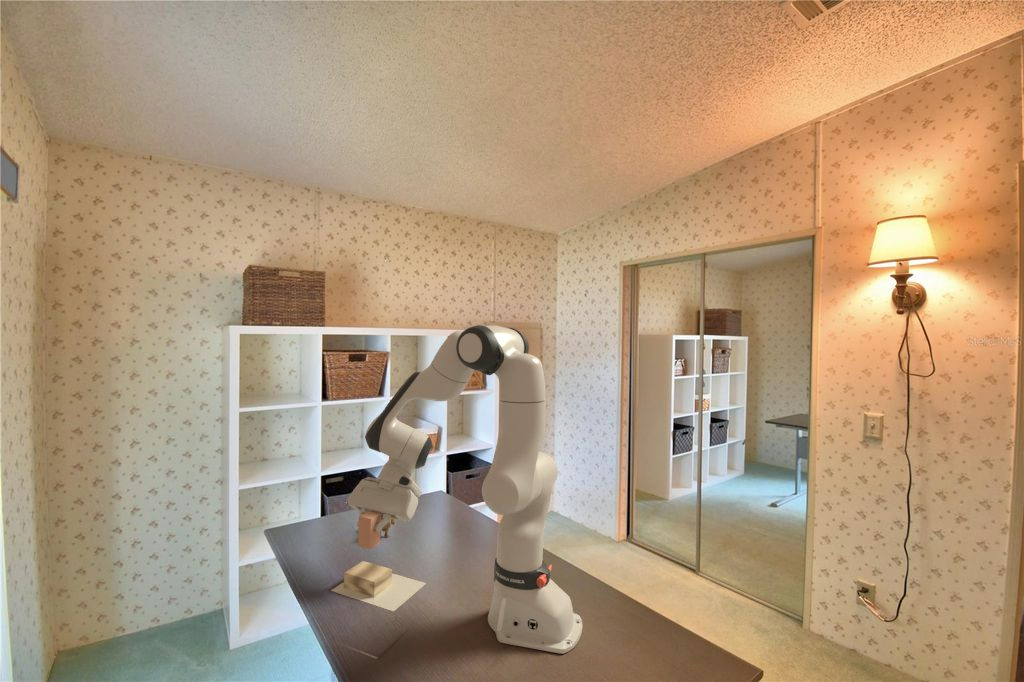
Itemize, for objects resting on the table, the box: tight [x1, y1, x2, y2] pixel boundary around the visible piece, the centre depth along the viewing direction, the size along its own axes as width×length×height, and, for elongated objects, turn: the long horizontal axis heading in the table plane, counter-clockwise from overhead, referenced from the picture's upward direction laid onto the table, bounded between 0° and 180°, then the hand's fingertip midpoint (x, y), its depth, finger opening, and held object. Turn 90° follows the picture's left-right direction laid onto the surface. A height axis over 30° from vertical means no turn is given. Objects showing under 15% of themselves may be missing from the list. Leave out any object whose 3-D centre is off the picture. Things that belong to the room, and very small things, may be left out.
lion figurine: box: [380, 516, 398, 541], centre depth 153 cm, size 15×5×9 cm, turn 37°
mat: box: [330, 572, 427, 612], centre depth 121 cm, size 20×14×1 cm
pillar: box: [357, 511, 381, 550], centre depth 121 cm, size 4×4×8 cm
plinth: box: [343, 560, 393, 597], centre depth 121 cm, size 10×7×4 cm
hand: (367, 529), depth 121 cm, fingers closed on pillar, 4 cm apart
